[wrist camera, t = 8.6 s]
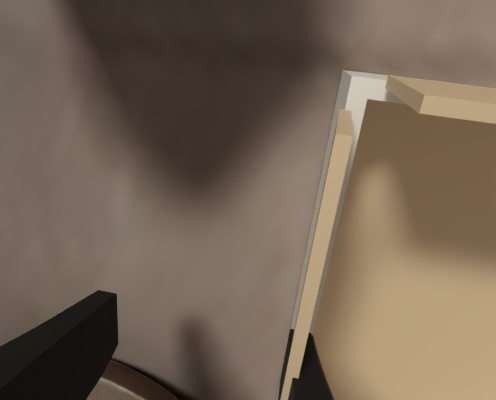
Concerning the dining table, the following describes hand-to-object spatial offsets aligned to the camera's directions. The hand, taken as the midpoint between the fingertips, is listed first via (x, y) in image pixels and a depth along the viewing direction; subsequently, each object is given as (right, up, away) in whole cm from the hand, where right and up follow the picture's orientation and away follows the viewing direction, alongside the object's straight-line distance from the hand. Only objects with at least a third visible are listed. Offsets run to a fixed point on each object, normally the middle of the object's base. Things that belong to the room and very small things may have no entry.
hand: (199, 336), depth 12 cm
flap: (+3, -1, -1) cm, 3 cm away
